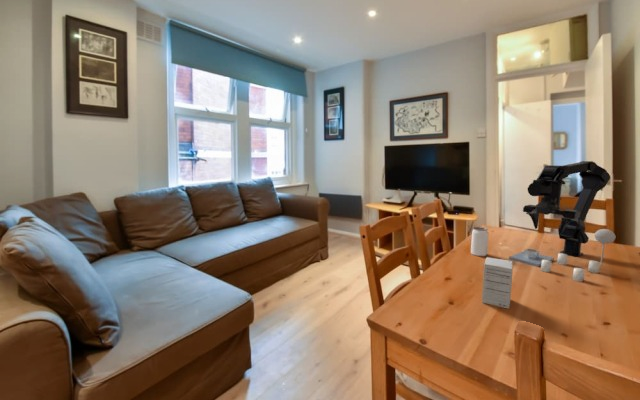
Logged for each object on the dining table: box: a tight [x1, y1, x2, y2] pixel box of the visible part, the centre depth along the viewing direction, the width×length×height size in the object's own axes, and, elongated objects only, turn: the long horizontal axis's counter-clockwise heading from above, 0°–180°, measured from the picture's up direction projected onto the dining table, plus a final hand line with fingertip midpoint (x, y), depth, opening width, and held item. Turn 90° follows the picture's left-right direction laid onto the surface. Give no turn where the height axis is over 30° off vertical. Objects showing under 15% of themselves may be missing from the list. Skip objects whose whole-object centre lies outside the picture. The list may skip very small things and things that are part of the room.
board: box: [508, 251, 555, 267], centre depth 125 cm, size 14×11×1 cm
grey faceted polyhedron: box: [523, 248, 540, 259], centre depth 125 cm, size 5×4×3 cm
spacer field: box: [540, 252, 601, 283], centre depth 112 cm, size 17×13×4 cm
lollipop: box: [593, 228, 616, 266], centre depth 117 cm, size 6×6×15 cm
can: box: [470, 226, 489, 257], centre depth 132 cm, size 6×6×12 cm
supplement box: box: [481, 256, 514, 309], centre depth 90 cm, size 7×7×13 cm
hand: (548, 230), depth 126 cm, fingers open, 9 cm apart
